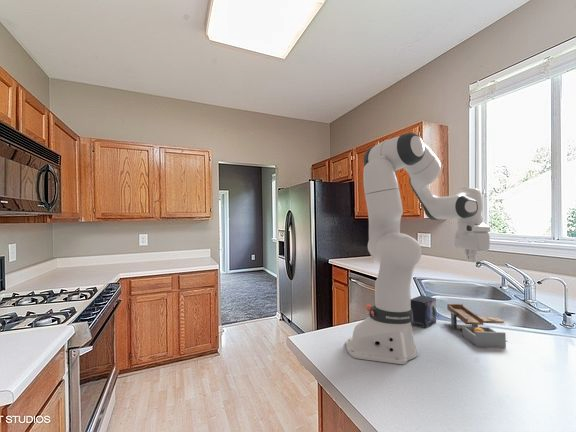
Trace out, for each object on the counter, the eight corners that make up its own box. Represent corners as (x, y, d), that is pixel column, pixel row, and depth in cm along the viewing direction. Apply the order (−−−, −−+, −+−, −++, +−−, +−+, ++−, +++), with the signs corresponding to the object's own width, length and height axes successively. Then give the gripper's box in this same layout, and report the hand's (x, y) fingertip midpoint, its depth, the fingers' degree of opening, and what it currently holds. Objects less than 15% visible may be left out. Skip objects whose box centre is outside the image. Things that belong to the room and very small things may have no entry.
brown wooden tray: (465, 324, 103) (465, 317, 103) (446, 309, 118) (446, 303, 118) (506, 325, 102) (506, 318, 102) (482, 310, 117) (482, 304, 117)
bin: (476, 347, 94) (476, 332, 94) (462, 335, 103) (462, 322, 103) (505, 348, 93) (505, 332, 93) (489, 336, 102) (488, 323, 102)
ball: (473, 325, 101) (470, 331, 103) (477, 334, 98) (474, 339, 100) (483, 325, 100) (480, 331, 102) (488, 334, 98) (485, 340, 99)
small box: (425, 329, 110) (425, 302, 110) (409, 324, 115) (409, 299, 115) (437, 322, 117) (436, 297, 117) (421, 318, 122) (421, 294, 122)
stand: (453, 329, 109) (453, 314, 109) (448, 326, 113) (448, 311, 113) (480, 330, 108) (480, 315, 108) (475, 326, 112) (474, 312, 112)
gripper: (450, 226, 127) (450, 257, 126) (475, 227, 106) (475, 263, 106) (465, 226, 126) (465, 257, 126) (493, 227, 106) (493, 263, 105)
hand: (470, 260), depth 116 cm, fingers closed
